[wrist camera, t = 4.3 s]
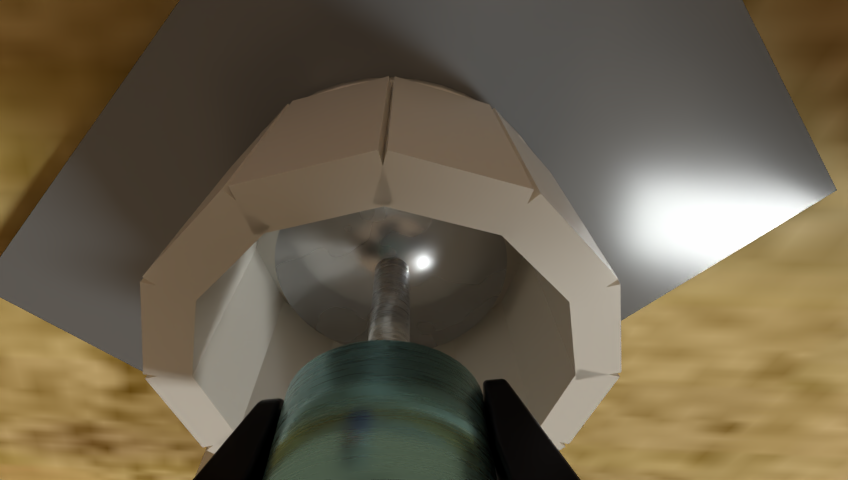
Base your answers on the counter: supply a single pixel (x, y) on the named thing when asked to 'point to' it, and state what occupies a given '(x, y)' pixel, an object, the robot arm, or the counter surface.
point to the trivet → (459, 70)
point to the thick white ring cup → (363, 190)
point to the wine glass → (386, 348)
